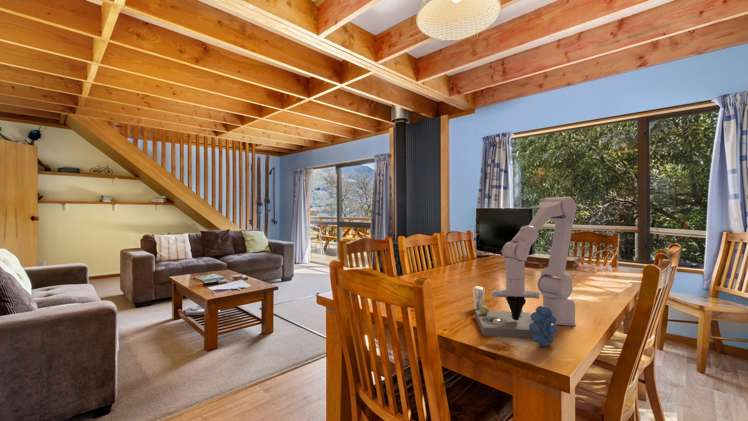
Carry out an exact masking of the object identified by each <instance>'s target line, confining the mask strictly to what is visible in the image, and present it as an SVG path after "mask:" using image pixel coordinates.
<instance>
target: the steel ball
mask: <svg viewBox="0 0 748 421" xmlns="http://www.w3.org/2000/svg"><path fill="white" fill-rule="evenodd" d="M492 323H502V321H501V320H499V319H494V320H493V321H492Z"/></svg>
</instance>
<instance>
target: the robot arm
mask: <svg viewBox="0 0 748 421" xmlns="http://www.w3.org/2000/svg"><path fill="white" fill-rule="evenodd" d="M576 212H577V203H576V201H575V200H574V199H573V197H571V196H564V197H563V196H562V197H561V196H560V197H558V196H557V197H544V198H542V200H541V202H539V203H538V210H537V212H536V213H535V214H534V216H533V218H532V220H531V221H530V222H529V224H528V225H524V226H521V227H520V229H519V231H517V233H516V234H515V235H514V237H513V238H512V239H511V240H510V241H507V242H506V243H505V244H504V245H503V246H502V249H501V251H500V252H501V256H502V257H503V258H504V259H503V261H504V264H505V289H499V290H498V289H497V290H491V297H492V298H494V299H495V298H505V300H506V303H507V304H508V306H509V309H510V312H511V313H512V318H513V319H514V320H519V316H520V312H521V310H523V308H524V305H526V299H540V295H542V307H544V308H545V307H548V308H550V309H551V311H552V313H553V314H552V315H553V316H554V317H555V318H556V321H557V322H556V323H555V324H554V325H556V326H573V327H574V326H575V327H576V326H577V324H576V304H575V301H574V299H573V298H572V297H570V296H571V294H572V292H573V285H572V282H573V276H571V275H570V274H569V273H568V272H567V271H566V269H567V262H568V255H569V250H570V245H571V244H570V242H571V237H572V231H573V225H574V222H575V218H576ZM548 221H551V222H552V223H553V224H554V232H553V236H552V242H551V249H550V255H549V260H548V265H547V266H548V267H547V268H545V269H544V268H543V270H541V273H540V276H539V278H538V279H537V283H536V284H537V288H538V291H536V290H526V287H525V286H526V284H525V280H526V279H525V273H526V272H525V262H526V261H525V260H526V259H527V258H528V257H529V255H530V250H531V247H532V245H533V243H535V241H536V240H537V239H538V237H539V230H540V229H541V228H542V227H543V226H545V224H546V223H547V222H548Z"/></svg>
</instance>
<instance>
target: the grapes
mask: <svg viewBox="0 0 748 421" xmlns="http://www.w3.org/2000/svg"><path fill="white" fill-rule="evenodd" d="M552 314H553V313H552V311H551V309H550V308H548V307H545V308H544V307H543V305H539V306H537V307H536V308H535V311H534V312H532V313H531V319H532V320H533V323H531V324H530V325H529V328H530V330H531V332H533V334H532V338H531V339H532V340H533V342H535V343H536V344H538V345H539V346H540V347H542V348H546V347H547V346H548V345H550V344H552V343H553V342H554V341H555V340H554V339H555V338H554V337H553V336H554V335H556V334H557V333H558V332H559V329H558V327H557V325H554V324H555V323H556V322H557V321H556V318H555V317H554V316H553V315H552Z"/></svg>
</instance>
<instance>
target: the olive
mask: <svg viewBox="0 0 748 421" xmlns="http://www.w3.org/2000/svg"><path fill="white" fill-rule="evenodd" d="M479 310H480V312H481V313H482V314H484V315H485V314H487V313H488V312H489V311H490V308H489V307H488V305H485V304H483V305H482V306H481V307H480V309H479Z"/></svg>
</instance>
